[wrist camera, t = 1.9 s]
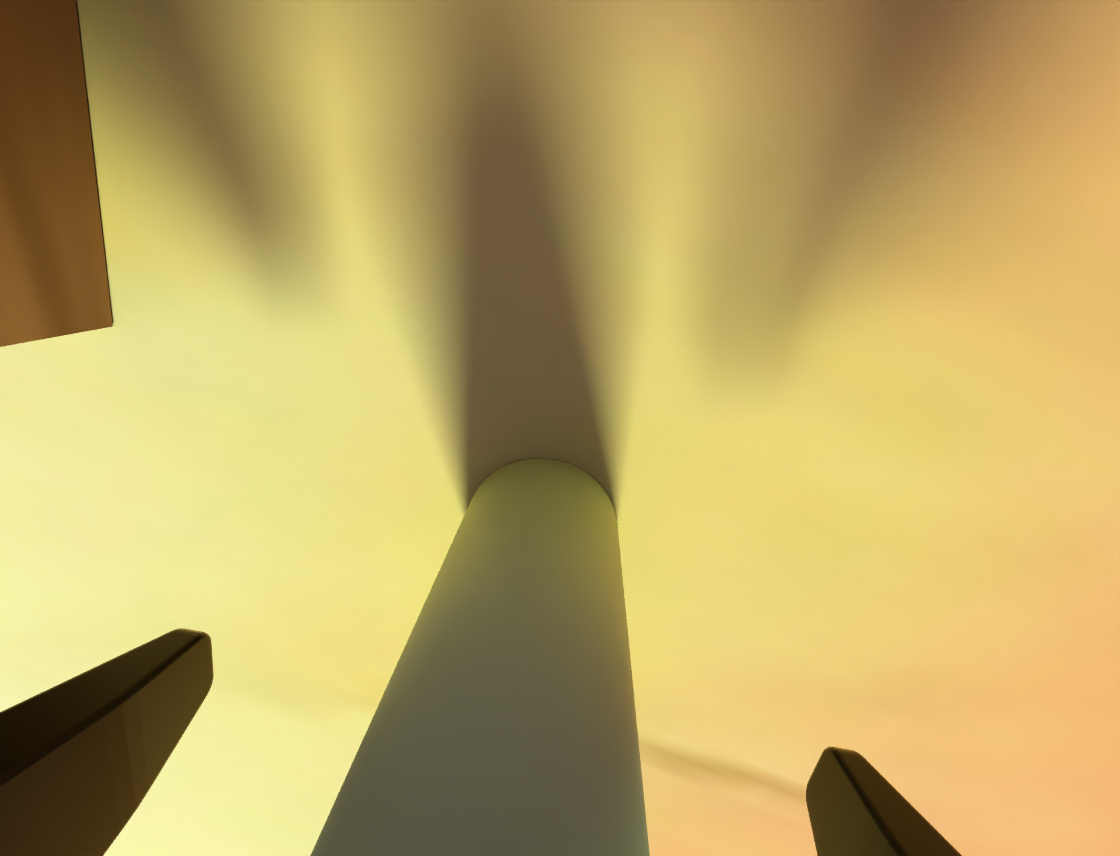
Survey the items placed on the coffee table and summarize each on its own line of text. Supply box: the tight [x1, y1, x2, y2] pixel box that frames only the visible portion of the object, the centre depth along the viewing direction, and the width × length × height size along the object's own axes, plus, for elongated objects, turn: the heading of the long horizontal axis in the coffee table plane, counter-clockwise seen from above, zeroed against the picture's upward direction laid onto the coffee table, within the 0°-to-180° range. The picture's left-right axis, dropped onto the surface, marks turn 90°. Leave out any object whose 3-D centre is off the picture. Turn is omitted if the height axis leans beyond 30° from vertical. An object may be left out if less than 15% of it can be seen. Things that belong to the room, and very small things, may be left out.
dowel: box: [311, 459, 650, 856], centre depth 8 cm, size 4×4×9 cm
